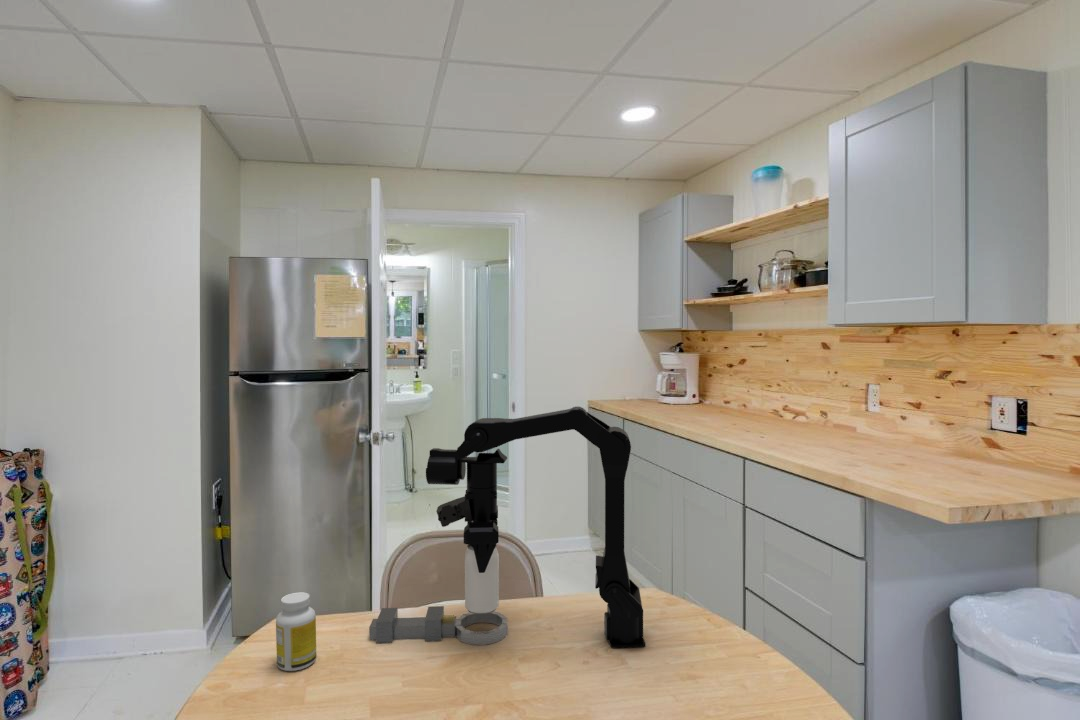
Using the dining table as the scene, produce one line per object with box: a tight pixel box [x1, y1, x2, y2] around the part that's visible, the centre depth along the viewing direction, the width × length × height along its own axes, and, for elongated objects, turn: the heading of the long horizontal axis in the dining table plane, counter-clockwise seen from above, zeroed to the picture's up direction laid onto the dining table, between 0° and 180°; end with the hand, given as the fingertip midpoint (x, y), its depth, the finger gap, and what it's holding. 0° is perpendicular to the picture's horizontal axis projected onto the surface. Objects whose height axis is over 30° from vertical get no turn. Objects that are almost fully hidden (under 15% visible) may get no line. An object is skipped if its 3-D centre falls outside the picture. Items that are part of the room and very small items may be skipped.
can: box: [464, 544, 500, 614], centre depth 117 cm, size 6×6×12 cm
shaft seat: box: [368, 605, 509, 646], centre depth 117 cm, size 26×10×4 cm, turn 94°
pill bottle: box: [275, 591, 317, 672], centre depth 107 cm, size 6×6×12 cm
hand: (482, 566), depth 117 cm, fingers closed on can, 6 cm apart
